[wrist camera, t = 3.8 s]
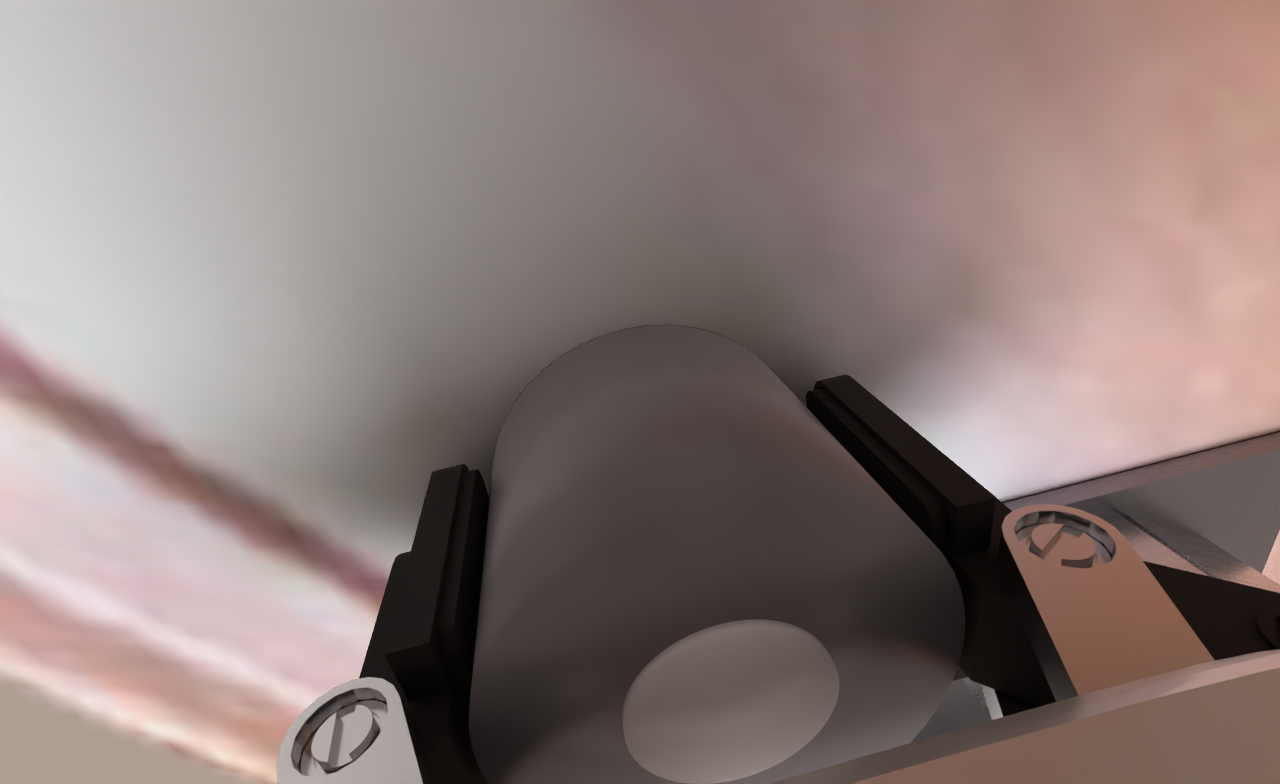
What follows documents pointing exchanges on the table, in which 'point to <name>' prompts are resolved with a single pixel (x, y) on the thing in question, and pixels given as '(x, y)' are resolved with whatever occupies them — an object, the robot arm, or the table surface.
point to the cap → (695, 580)
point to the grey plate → (1168, 530)
